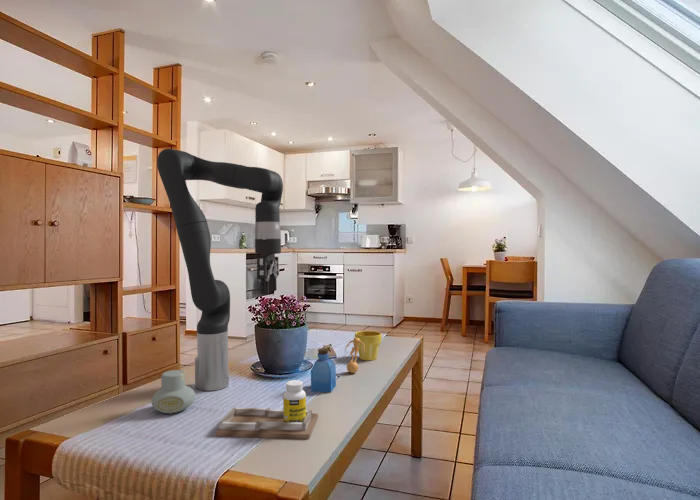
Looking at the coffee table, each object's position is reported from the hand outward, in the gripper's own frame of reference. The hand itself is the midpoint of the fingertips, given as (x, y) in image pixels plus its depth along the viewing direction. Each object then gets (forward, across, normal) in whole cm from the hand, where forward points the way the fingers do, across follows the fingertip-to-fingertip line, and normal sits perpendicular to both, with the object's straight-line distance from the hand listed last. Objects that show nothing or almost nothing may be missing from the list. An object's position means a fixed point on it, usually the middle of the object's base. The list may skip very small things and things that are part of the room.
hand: (268, 292), depth 126 cm
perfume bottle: (+30, -6, +15) cm, 34 cm away
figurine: (+30, -23, +23) cm, 44 cm away
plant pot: (+30, -41, +27) cm, 58 cm away
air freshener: (+30, +13, -23) cm, 40 cm away
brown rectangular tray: (+30, +22, +6) cm, 38 cm away
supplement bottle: (+29, +22, +12) cm, 39 cm away
